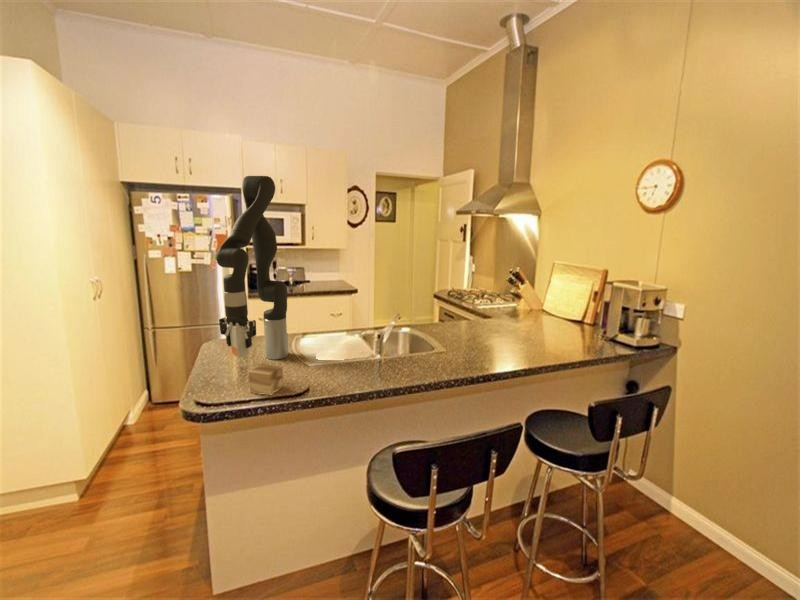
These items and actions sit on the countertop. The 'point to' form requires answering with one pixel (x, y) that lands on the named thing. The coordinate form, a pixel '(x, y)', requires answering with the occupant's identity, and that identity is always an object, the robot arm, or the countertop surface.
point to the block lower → (266, 387)
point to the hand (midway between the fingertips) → (239, 346)
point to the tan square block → (265, 374)
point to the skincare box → (238, 342)
